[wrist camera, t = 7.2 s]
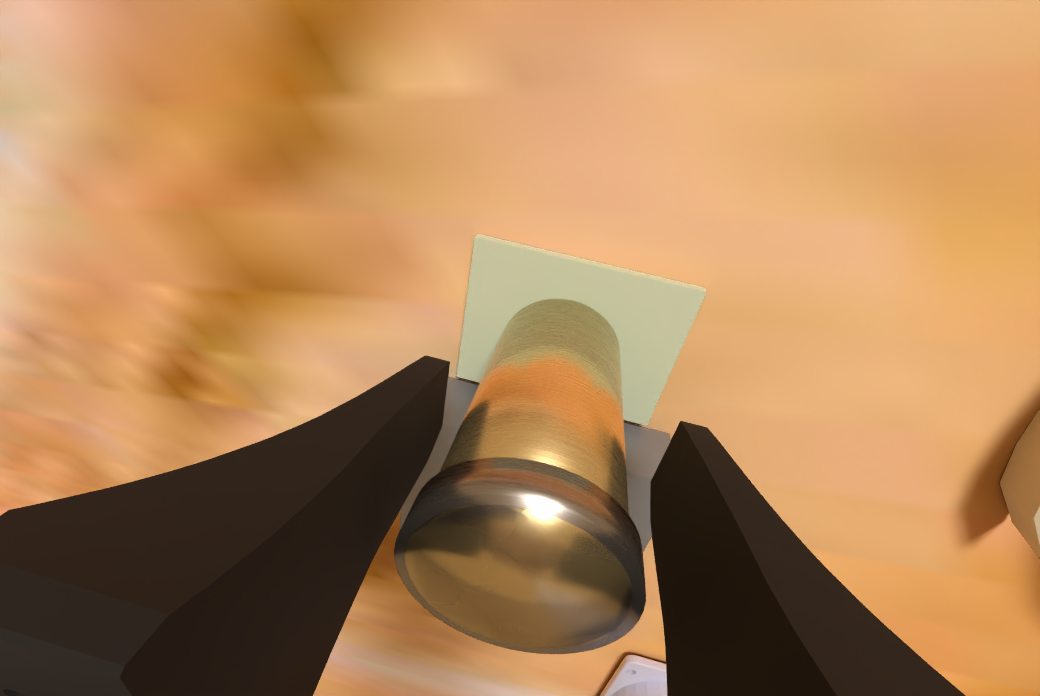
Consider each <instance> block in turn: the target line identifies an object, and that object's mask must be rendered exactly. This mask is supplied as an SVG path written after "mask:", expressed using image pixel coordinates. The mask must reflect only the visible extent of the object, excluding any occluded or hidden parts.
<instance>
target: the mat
mask: <svg viewBox="0 0 1040 696" xmlns="http://www.w3.org/2000/svg"><path fill="white" fill-rule="evenodd" d="M705 295H706V290H705V288H704V287H701V286H696V285H692V284H688V283H684V282H680V281H675V280H671V279H667V278H663V277H659V276H654V275H650V274H646V273H642V272H637V271H633V270H629V269H625V268H621V267H616V266H612V265H608V264H604V263H599V262H595V261H591V260H587V259H583V258H578V257H574V256H570V255H566V254H562V253H557V252H553V251H549V250H545V249H540V248H536V247H532V246H528V245H524V244H519V243H515V242H511V241H507V240H502V239H498V238H494V237H490V236H486V235H481V234H477V235H476V236H475V238H474V246H473V254H472V261H471V269H470V277H469V285H468V292H467V300H466V308H465V315H464V323H463V331H462V339H461V346H460V354H459V362H458V369H457V377H460V378H463V379H467V380H471V381H475V382H479V383H480V382H481V379H482V377H483V375H484V373H485V371H486V368H487V366H488V364H489V362H490V360H491V357H492V355H493V353H494V351H495V349H496V346H497V344H498V342H499V340H500V338H501V335H502V333H503V331H504V329H505V327H506V325H507V323H508V322H509V321H510V319H511V318H512V317H513V316H514V315H515V314H516V313H517V312H518V311H520V310H521V309H523V308H524V307H526V306H528V305H530V304H532V303H535V302H538V301H542V300H547V299H567V300H573V301H576V302H579V303H582V304H584V305H587V306H589V307H591V308H592V309H594V310H596V311H597V312H598V313H599V314H601V315H602V316H603V317H604V318H605V319H606V320H607V321H608V322H609V324H610V325H611V326H612V328H613V330H614V332H615V333H616V336H617V339H618V341H619V346H620V360H621V379H622V398H623V417H624V420H626V421H630V422H634V423H638V424H642V425H646V426H647V425H648V422H649V420H650V418H651V416H652V413H653V411H654V409H655V407H656V404H657V402H658V400H659V398H660V396H661V393H662V391H663V389H664V387H665V384H666V382H667V380H668V378H669V375H670V373H671V371H672V369H673V366H674V364H675V362H676V360H677V357H678V355H679V353H680V351H681V348H682V346H683V344H684V342H685V340H686V337H687V335H688V333H689V331H690V328H691V326H692V324H693V322H694V319H695V317H696V315H697V313H698V310H699V308H700V306H701V304H702V301H703V299H704V297H705Z"/></svg>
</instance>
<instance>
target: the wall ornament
mask: <svg viewBox="0 0 1040 696" xmlns="http://www.w3.org/2000/svg"><path fill="white" fill-rule="evenodd" d="M1000 486H1001V489H1002V492H1003V495H1004V499H1005V502H1006V505H1007V508H1008V511H1009V514H1010V517H1011V520H1012V523H1013V524H1014V525H1015V527H1016V528H1017V529H1018V531H1019V532H1020V533H1021V535H1022V536H1023V537H1024V539H1025V540H1026V541H1027V542H1028V544H1029V545H1030V546H1031V548H1032V549H1033V550H1034V552H1035V553H1036V554H1037V556H1038V557H1039V558H1040V409H1039V411H1038V412H1037V414H1036V415H1035V416H1034V418H1033V419H1032V421H1031V422H1030V424H1029V425H1028V427H1027V428H1026V430H1025V431H1024V433H1023V435H1022V436H1021V438H1020V439H1019V441H1018V442H1017V444H1016V446H1015V448H1014V450H1013V453H1012V455H1011V458H1010V460H1009V462H1008V465H1007V467H1006V469H1005V472H1004V474H1003V476H1002V479H1001V481H1000Z"/></svg>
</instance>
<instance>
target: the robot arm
mask: <svg viewBox="0 0 1040 696" xmlns="http://www.w3.org/2000/svg"><path fill="white" fill-rule="evenodd" d="M449 365H450V362H449V361H445V360H441V359H437V358H433V357H429V356H424V357H422V358H420V359H419V360H417V361H415V362H414V363H412V364H410V365H409V366H407V367H406V368H404V369H402V370H401V371H399V372H397V373H396V374H394V375H393V376H391V377H389V378H388V379H386V380H384V381H383V382H381V383H379V384H378V385H376V386H374V387H372V388H371V389H369V390H367V391H366V392H364V393H362V394H360V395H359V396H357V397H355V398H353V399H352V400H350V401H348V402H346V403H344V404H342V405H340V406H338V407H336V408H334V409H332V410H330V411H328V412H327V413H325V414H323V415H321V416H319V417H317V418H314V419H312V420H310V421H308V422H306V423H303V424H301V425H299V426H297V427H294V428H292V429H290V430H287V431H285V432H282V433H280V434H278V435H275V436H273V437H270V438H268V439H265V440H263V441H260V442H257V443H254V444H252V445H249V446H246V447H243V448H240V449H237V450H235V451H232V452H229V453H226V454H223V455H220V456H217V457H215V458H212V459H209V460H206V461H203V462H200V463H196V464H193V465H190V466H186V467H183V468H180V469H176V470H173V471H170V472H166V473H163V474H159V475H155V476H152V477H148V478H145V479H141V480H137V481H134V482H130V483H126V484H122V485H118V486H114V487H110V488H106V489H102V490H97V491H93V492H89V493H84V494H80V495H75V496H71V497H67V498H62V499H58V500H53V501H49V502H45V503H40V504H36V505H31V506H26V507H22V508H17V509H12V510H9V511H7V512H5V513H4V514H2V515H1V516H0V696H313V694H314V692H315V689H316V687H317V684H318V682H319V680H320V677H321V675H322V673H323V670H324V668H325V665H326V663H327V661H328V658H329V656H330V654H331V651H332V649H333V647H334V645H335V642H336V640H337V638H338V635H339V633H340V631H341V629H342V626H343V624H344V622H345V619H346V617H347V615H348V613H349V610H350V608H351V606H352V604H353V601H354V599H355V597H356V595H357V593H358V590H359V588H360V586H361V584H362V582H363V579H364V577H365V575H366V573H367V571H368V568H369V566H370V564H371V562H372V560H373V558H374V556H375V554H376V552H377V550H378V548H379V546H380V544H381V543H382V541H383V539H384V537H385V536H386V534H387V532H388V530H389V529H390V527H391V525H392V523H393V522H394V520H395V518H396V516H397V515H398V513H399V511H400V509H401V508H402V506H403V504H404V502H405V501H406V499H407V497H408V495H409V494H410V492H411V490H412V488H413V487H414V485H415V483H416V481H417V480H418V478H419V476H420V474H421V472H422V471H423V469H424V467H425V465H426V464H427V462H428V459H429V457H430V455H431V452H432V450H433V448H434V445H435V443H436V440H437V438H438V436H439V433H440V431H441V428H442V425H443V416H444V408H445V399H446V391H447V382H448V374H449ZM650 523H651V532H652V540H653V548H654V556H655V564H656V571H657V579H658V586H659V594H660V601H661V609H662V616H663V624H664V635H665V646H666V664H664V663H661V662H658V661H654V660H651V659H647V658H644V657H640V656H637V655H627V656H626V657H625V658H624V659H623V661H622V662H621V664H620V665H619V667H618V669H617V670H616V672H615V673H614V675H613V676H612V678H611V679H610V681H609V682H608V684H607V685H606V687H605V688H604V690H603V691H602V693H601V694H600V696H965V695H964V694H963V693H962V692H961V691H959V690H958V689H957V688H956V687H955V686H953V685H952V684H951V683H950V682H949V681H948V680H946V679H945V678H944V677H943V676H942V675H940V674H939V673H938V672H937V671H936V670H935V669H933V668H932V667H931V666H930V665H929V664H928V663H927V662H925V661H924V660H923V659H922V658H921V657H920V656H919V655H918V654H916V653H915V652H914V651H913V650H912V649H911V648H910V647H909V646H908V645H906V644H905V643H904V642H903V641H902V640H901V639H900V638H899V637H897V636H896V635H895V634H894V633H893V632H892V631H891V630H890V629H888V628H887V627H886V626H885V625H884V624H883V623H882V622H881V621H880V620H879V619H878V618H877V617H876V616H874V615H873V614H872V613H871V612H870V611H869V610H868V609H867V608H866V607H865V606H864V605H863V604H862V603H861V602H860V601H859V600H858V599H857V598H856V597H855V596H854V595H853V594H852V593H851V592H850V591H849V590H848V589H847V588H846V587H845V586H844V585H843V584H842V583H841V582H840V581H839V580H838V579H837V578H836V577H835V576H834V575H833V574H832V573H831V572H830V571H829V570H828V569H827V568H826V567H825V566H824V565H823V564H822V563H821V562H820V561H819V560H818V559H817V558H816V557H815V556H814V555H813V554H812V553H811V551H810V550H809V549H808V548H807V547H806V546H805V545H804V544H803V543H802V541H801V540H800V539H799V538H798V537H797V536H796V535H795V534H794V532H793V531H792V530H791V529H790V528H789V527H788V526H787V525H786V524H785V522H784V521H783V520H782V519H781V518H780V517H779V515H778V514H777V513H776V512H775V511H774V509H773V508H772V507H771V506H770V505H769V504H768V502H767V501H766V500H765V499H764V497H763V496H762V495H761V494H760V493H759V491H758V490H757V489H756V488H755V486H754V485H753V484H752V483H751V481H750V480H749V479H748V478H747V476H746V475H745V474H744V473H743V471H742V470H741V469H740V468H739V466H738V465H737V464H736V462H735V461H734V460H733V459H732V457H731V456H730V455H729V454H728V452H727V451H726V450H725V449H724V447H723V446H722V445H721V444H720V442H719V441H718V440H717V439H716V437H715V436H714V435H713V434H712V433H711V432H710V430H709V429H708V428H707V427H703V426H699V425H695V424H691V423H687V422H683V421H680V423H679V425H678V427H677V429H676V431H675V433H674V435H673V437H672V439H671V441H670V443H669V445H668V447H667V449H666V451H665V453H664V455H663V457H662V459H661V461H660V463H659V465H658V467H657V469H656V471H655V473H654V476H653V478H652V480H651V483H650Z"/></svg>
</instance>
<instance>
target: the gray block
mask: <svg viewBox="0 0 1040 696" xmlns="http://www.w3.org/2000/svg"><path fill="white" fill-rule="evenodd" d="M478 386H479V385H478V384H474V383H470V382H466V381H463V380H459V379H455V378H451V377H448V382H447V391H446V399H445V408H444V416H443V425H442V428H441V431H440V433H439V436H438V438H437V440H436V443H435V445H434V448H433V450H432V452H431V455H430V457H429V459H428V462H427V464H426V465H425V467H424V469H423V471H422V472H421V474H420V476H419V478H418V480H417V481H416V483H415V485H414V487H413V488H412V490H411V492H410V494H409V495H408V497H407V499H406V501H405V502H404V504H403V506H402V508H401V517H400V530H401V528H402V525H403V523H404V521H405V519H406V517H407V515H408V513H409V511H410V509H411V507H412V505H413V503H414V501H415V499H416V497H417V495H418V493H419V492H420V490H421V489H422V487H423V486H424V485H425V484H426V483H427V482H428V481H429V480H430V479H431V478H432V477H434V476H435V475H437V474H438V473H439V472H440V470H441V468H442V465H443V463H444V461H445V459H446V457H447V454H448V452H449V450H450V448H451V445H452V443H453V441H454V439H455V437H456V434H457V432H458V430H459V428H460V426H461V423H462V421H463V419H464V417H465V415H466V412H467V410H468V408H469V406H470V404H471V401H472V399H473V397H474V395H475V393H476V390H477V388H478ZM624 435H625V454H626V473H627V491H628V510H629V516H630V518H631V519H632V521H633V522H634V524H635V526H636V528H637V530H638V533H639V535H640V539H641V544H642V552H644V550H645V548H646V546H647V544H648V542H649V541H650V539H651V537H652V532H651V523H650V483H651V480H652V478H653V476H654V473H655V471H656V469H657V467H658V465H659V463H660V461H661V459H662V457H663V455H664V453H665V451H666V449H667V447H668V445H669V443H670V441H671V439H670V434H668V433H664V432H660V431H656V430H652V429H648V428H644V427H641V426H637V425H633V424H629V423H625V422H624Z"/></svg>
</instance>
